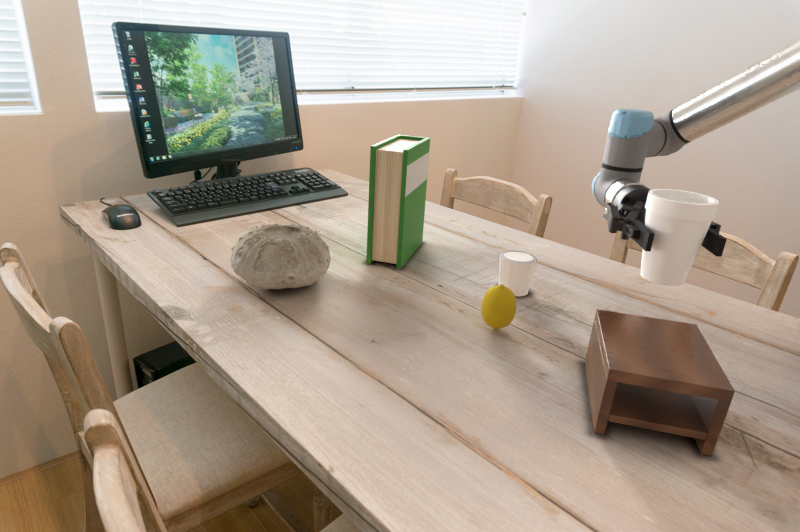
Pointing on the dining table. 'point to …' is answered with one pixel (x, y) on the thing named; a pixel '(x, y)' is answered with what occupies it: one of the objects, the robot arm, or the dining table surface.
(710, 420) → the shelf
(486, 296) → the lemon
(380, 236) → the hardback book
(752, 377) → the dining table surface
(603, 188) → the robot arm
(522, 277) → the white jar candle
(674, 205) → the foam cup
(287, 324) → the dining table surface
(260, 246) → the decorative shell
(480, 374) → the dining table surface
